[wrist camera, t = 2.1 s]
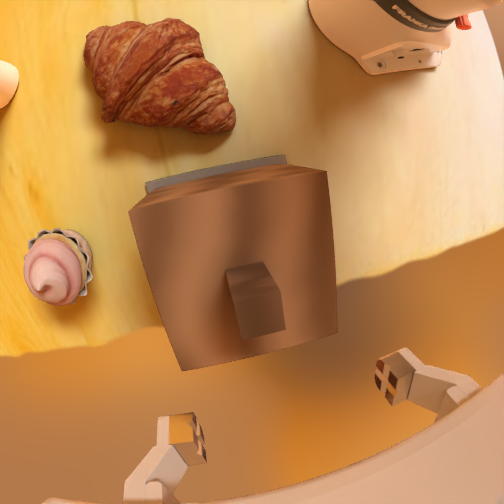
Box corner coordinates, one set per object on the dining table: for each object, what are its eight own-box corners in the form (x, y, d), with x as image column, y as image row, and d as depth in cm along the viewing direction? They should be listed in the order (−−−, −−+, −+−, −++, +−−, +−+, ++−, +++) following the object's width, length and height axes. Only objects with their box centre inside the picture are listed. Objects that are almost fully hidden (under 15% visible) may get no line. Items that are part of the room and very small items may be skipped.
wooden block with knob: (278, 163, 33) (361, 178, 16) (294, 276, 38) (362, 366, 21) (154, 188, 31) (108, 229, 14) (184, 301, 36) (181, 413, 19)
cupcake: (59, 295, 33) (28, 335, 24) (32, 231, 30) (-10, 257, 21) (115, 277, 34) (92, 319, 25) (88, 207, 31) (52, 228, 22)
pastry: (228, 16, 27) (236, -16, 19) (235, 133, 32) (246, 127, 24) (90, 36, 24) (67, 12, 17) (91, 153, 29) (63, 154, 22)
